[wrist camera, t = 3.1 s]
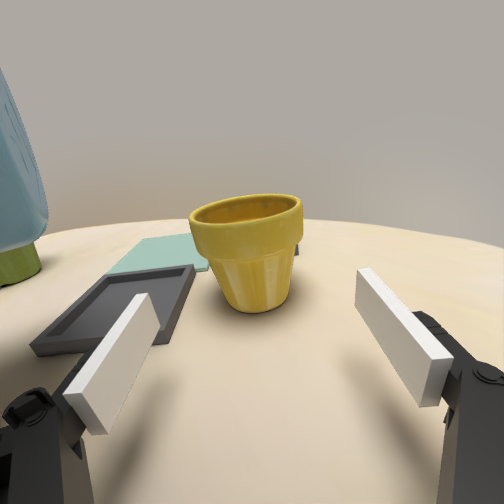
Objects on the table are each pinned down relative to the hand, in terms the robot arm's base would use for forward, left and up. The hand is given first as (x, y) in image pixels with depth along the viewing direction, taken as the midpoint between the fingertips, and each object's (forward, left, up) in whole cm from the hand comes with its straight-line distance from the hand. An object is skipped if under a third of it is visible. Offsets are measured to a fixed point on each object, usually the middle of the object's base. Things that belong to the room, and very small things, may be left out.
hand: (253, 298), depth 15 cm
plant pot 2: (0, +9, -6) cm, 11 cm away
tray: (-14, +9, -6) cm, 18 cm away
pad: (-14, +23, -6) cm, 28 cm away
